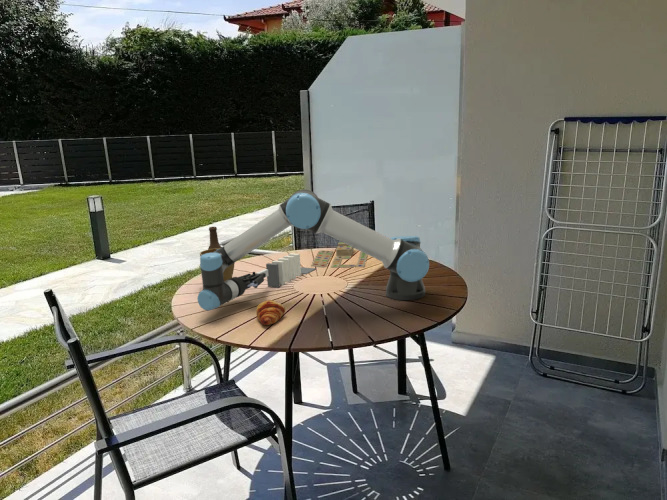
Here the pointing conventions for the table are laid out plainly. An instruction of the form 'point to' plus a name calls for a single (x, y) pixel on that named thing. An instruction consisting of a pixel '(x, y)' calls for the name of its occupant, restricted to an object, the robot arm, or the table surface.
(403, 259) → the robot arm
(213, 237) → the beer bottle
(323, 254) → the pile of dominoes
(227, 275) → the plant pot
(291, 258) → the domino
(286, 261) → the domino
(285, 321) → the table surface
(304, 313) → the table surface
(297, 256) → the domino
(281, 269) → the domino
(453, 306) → the table surface
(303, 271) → the mat
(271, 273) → the domino
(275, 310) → the croissant
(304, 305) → the table surface
